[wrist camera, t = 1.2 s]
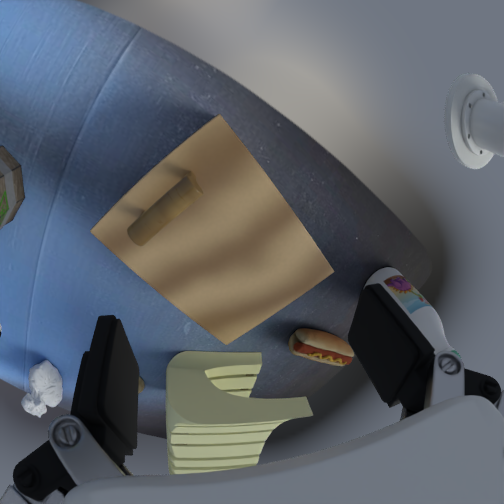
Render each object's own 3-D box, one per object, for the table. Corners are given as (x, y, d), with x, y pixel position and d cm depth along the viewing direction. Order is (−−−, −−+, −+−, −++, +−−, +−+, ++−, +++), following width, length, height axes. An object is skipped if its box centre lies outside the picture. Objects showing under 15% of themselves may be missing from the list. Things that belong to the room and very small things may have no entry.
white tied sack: (41, 343, 40) (-1, 372, 31) (62, 366, 38) (17, 400, 29) (58, 380, 46) (23, 408, 37) (79, 402, 44) (43, 433, 34)
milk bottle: (376, 308, 48) (436, 390, 31) (353, 293, 45) (418, 387, 28) (404, 276, 46) (474, 353, 29) (384, 258, 43) (463, 344, 26)
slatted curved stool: (168, 310, 39) (168, 423, 24) (274, 316, 44) (313, 415, 29) (165, 412, 53) (170, 486, 38) (237, 412, 57) (253, 483, 42)
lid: (92, 227, 23) (74, 256, 19) (218, 113, 21) (226, 116, 17) (225, 340, 33) (232, 374, 29) (331, 267, 31) (352, 296, 26)
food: (351, 336, 51) (362, 355, 47) (332, 355, 53) (342, 374, 48) (299, 317, 45) (309, 339, 41) (278, 340, 47) (287, 362, 42)
